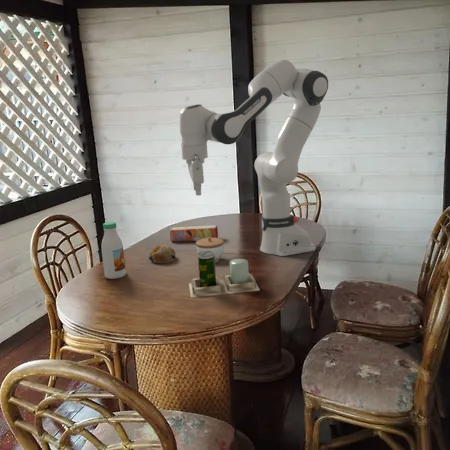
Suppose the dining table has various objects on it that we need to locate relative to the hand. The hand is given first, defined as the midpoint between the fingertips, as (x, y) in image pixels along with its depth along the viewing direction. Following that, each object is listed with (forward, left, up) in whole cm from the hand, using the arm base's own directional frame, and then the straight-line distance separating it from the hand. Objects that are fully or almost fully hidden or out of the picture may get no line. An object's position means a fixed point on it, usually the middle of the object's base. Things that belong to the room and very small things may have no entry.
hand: (197, 192), depth 167 cm
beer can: (0, +21, -28) cm, 35 cm away
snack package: (0, -40, -30) cm, 50 cm away
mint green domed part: (-10, +21, -28) cm, 36 cm away
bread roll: (+15, -16, -29) cm, 37 cm away
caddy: (-5, +21, -29) cm, 36 cm away
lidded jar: (-4, -10, -29) cm, 31 cm away
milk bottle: (+32, -3, -29) cm, 43 cm away
